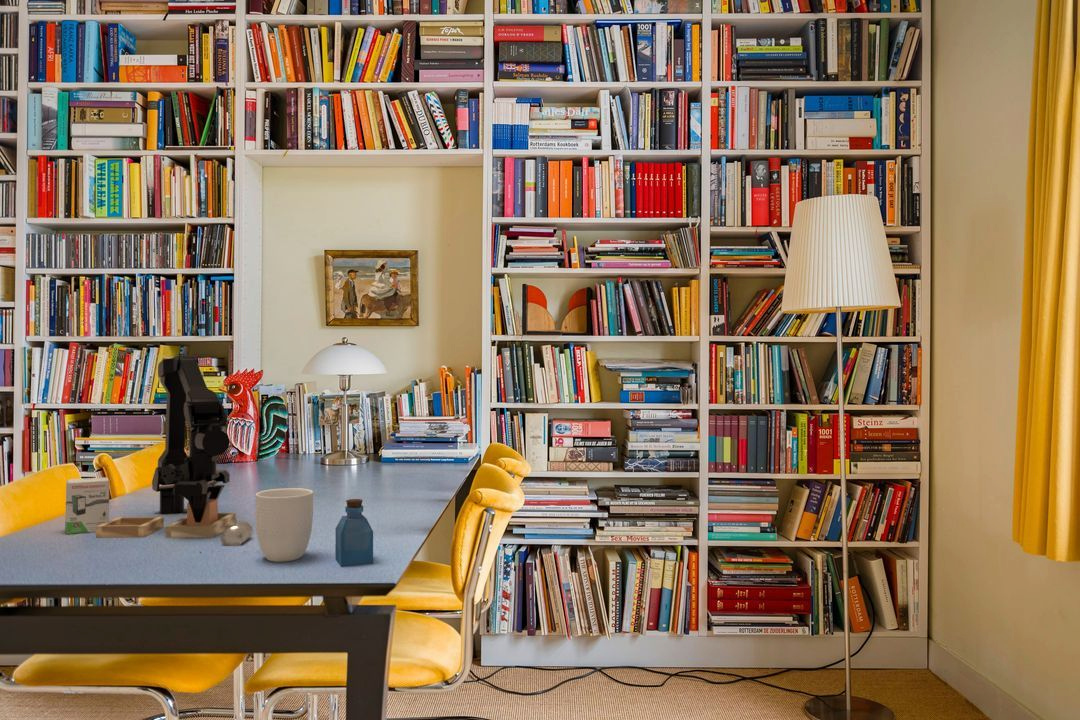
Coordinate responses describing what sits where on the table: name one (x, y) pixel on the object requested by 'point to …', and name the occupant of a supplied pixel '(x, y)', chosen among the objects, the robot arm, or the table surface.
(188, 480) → the robot arm
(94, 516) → the ink box
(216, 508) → the cube
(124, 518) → the oak box
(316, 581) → the table surface
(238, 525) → the grey rounded piece
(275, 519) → the mug
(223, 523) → the birch box
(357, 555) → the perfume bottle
